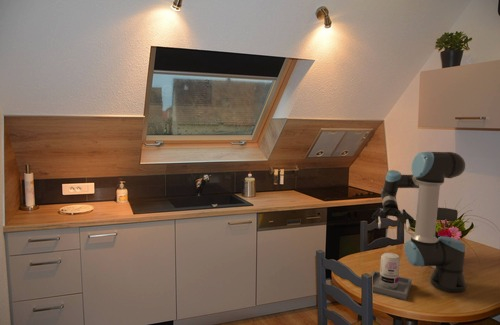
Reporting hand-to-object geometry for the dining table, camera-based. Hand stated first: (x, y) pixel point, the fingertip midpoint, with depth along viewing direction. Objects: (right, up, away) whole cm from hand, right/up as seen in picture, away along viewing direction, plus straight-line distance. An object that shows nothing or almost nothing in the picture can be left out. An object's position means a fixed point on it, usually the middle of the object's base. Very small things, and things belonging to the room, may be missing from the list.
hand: (394, 227), depth 184 cm
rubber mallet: (+37, -23, +27) cm, 52 cm away
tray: (-6, -27, -8) cm, 29 cm away
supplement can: (-6, -26, -8) cm, 28 cm away
